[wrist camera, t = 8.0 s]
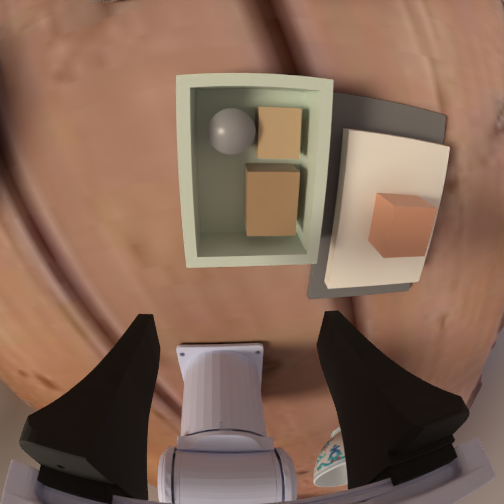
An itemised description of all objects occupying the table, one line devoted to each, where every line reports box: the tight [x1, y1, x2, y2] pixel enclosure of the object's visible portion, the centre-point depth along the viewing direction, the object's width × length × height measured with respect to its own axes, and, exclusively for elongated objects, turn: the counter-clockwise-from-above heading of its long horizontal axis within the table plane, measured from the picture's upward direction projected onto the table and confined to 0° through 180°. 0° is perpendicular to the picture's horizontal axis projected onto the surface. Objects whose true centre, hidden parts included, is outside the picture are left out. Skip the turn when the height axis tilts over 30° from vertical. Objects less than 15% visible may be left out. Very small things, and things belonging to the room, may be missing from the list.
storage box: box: [176, 73, 333, 268], centre depth 17 cm, size 11×8×4 cm
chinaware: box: [314, 427, 348, 487], centre depth 36 cm, size 15×15×8 cm
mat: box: [307, 92, 446, 299], centre depth 21 cm, size 16×10×1 cm, turn 179°
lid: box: [324, 128, 450, 289], centre depth 19 cm, size 11×8×4 cm
